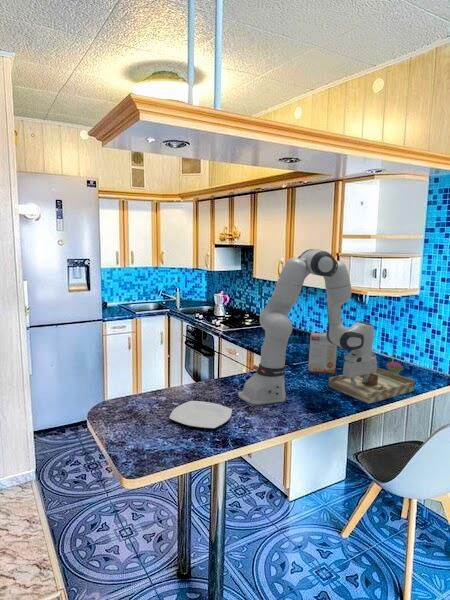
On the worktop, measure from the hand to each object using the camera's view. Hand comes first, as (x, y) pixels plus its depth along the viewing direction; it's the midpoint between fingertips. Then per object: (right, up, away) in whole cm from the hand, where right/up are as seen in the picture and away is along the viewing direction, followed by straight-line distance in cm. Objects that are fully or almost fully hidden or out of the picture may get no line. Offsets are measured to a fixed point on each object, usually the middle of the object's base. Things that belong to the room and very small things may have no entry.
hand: (359, 383), depth 201 cm
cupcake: (+28, -1, +29) cm, 41 cm away
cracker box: (-11, +1, +30) cm, 32 cm away
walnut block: (+7, -1, +5) cm, 8 cm away
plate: (-73, -7, -34) cm, 81 cm away
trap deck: (+8, -4, +6) cm, 11 cm away
